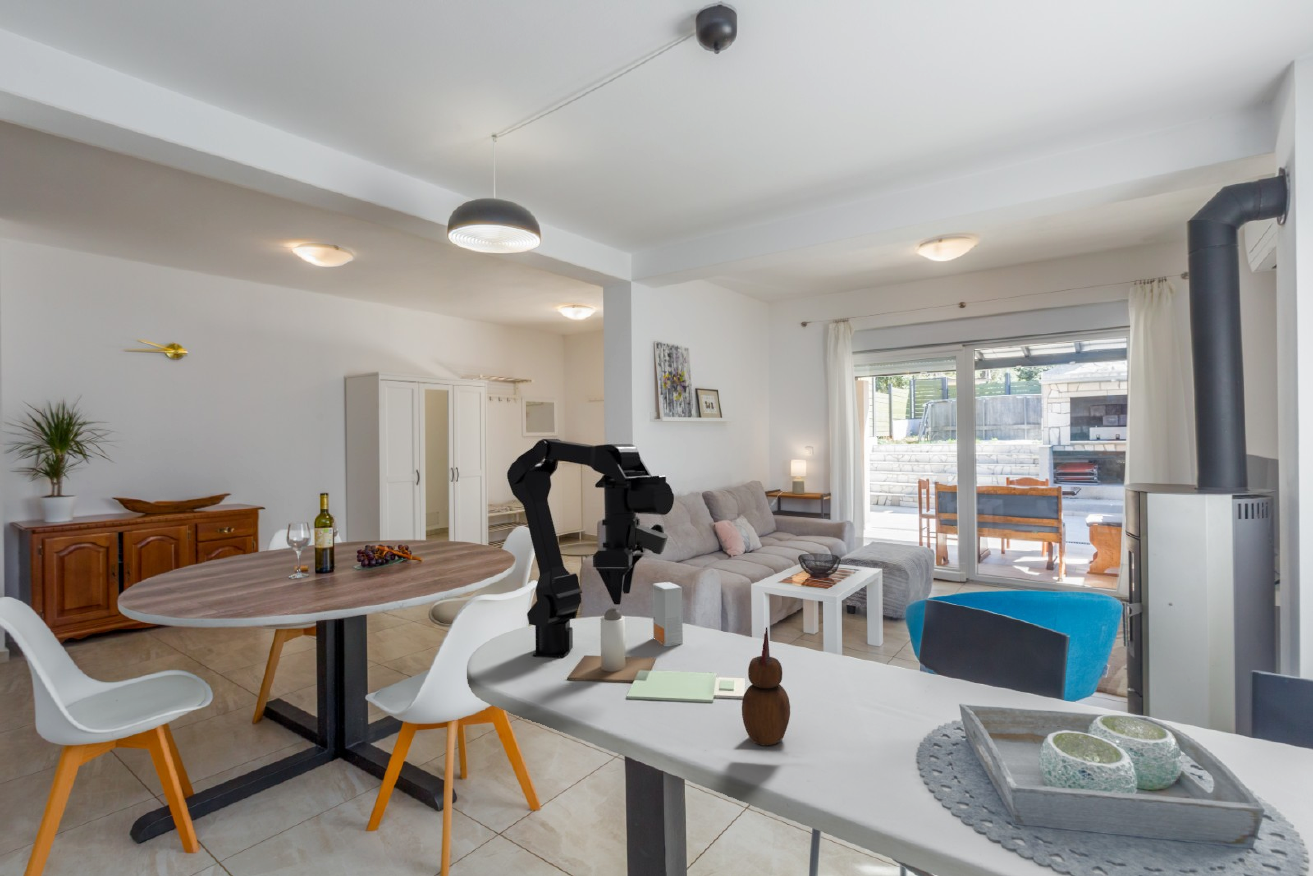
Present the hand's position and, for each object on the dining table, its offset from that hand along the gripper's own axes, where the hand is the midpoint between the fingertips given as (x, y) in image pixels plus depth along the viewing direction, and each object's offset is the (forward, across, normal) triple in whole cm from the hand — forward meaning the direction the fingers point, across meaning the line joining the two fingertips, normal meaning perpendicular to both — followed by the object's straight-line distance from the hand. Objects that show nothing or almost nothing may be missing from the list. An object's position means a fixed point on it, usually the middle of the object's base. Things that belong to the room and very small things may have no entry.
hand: (622, 598), depth 115 cm
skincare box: (+14, +18, -6) cm, 23 cm away
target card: (+14, -6, -19) cm, 24 cm away
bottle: (+13, +1, +2) cm, 13 cm away
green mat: (+13, -6, -10) cm, 18 cm away
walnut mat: (+13, +1, +2) cm, 14 cm away
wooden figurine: (+14, -24, -25) cm, 37 cm away
